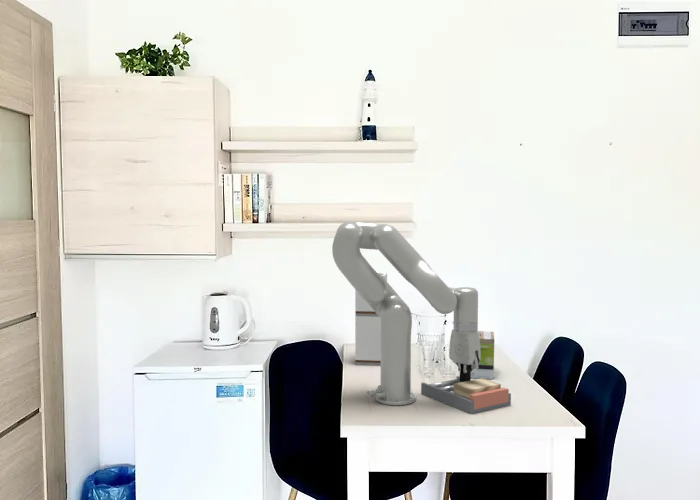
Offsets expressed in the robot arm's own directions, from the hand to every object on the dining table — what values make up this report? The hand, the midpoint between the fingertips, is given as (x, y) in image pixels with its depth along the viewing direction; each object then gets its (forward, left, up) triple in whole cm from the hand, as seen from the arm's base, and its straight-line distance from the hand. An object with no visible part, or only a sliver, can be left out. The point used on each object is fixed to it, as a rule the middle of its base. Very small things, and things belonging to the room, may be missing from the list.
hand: (465, 384), depth 197 cm
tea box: (+26, +21, -5) cm, 34 cm away
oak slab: (0, -6, -2) cm, 6 cm away
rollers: (0, +1, -4) cm, 4 cm away
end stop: (0, -11, -4) cm, 12 cm away
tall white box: (+1, +56, -5) cm, 56 cm away
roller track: (0, 0, -5) cm, 5 cm away
